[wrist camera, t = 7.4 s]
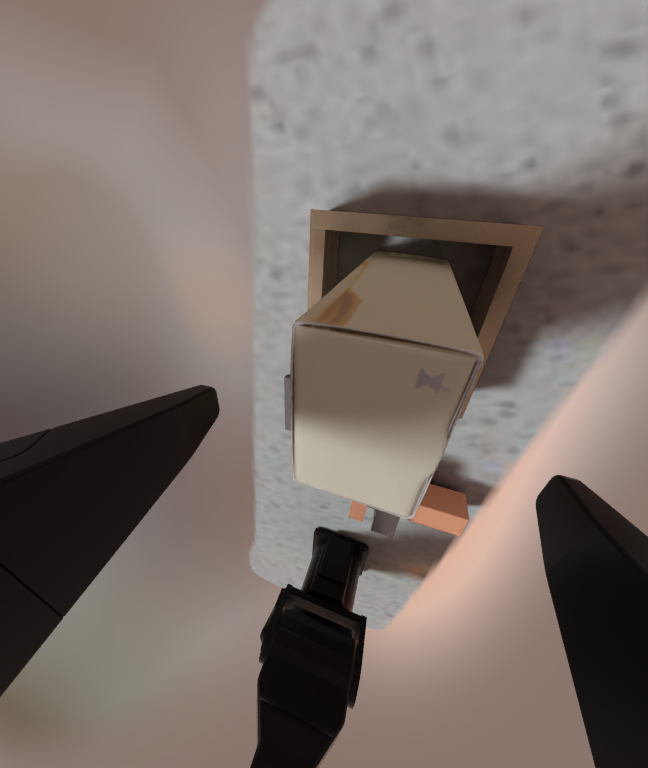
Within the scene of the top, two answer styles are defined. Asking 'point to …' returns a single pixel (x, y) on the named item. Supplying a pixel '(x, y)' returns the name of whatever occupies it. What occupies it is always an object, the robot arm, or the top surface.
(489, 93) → the top surface
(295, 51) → the top surface
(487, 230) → the open wooden box
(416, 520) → the lock bar
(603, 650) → the robot arm
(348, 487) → the skincare box
